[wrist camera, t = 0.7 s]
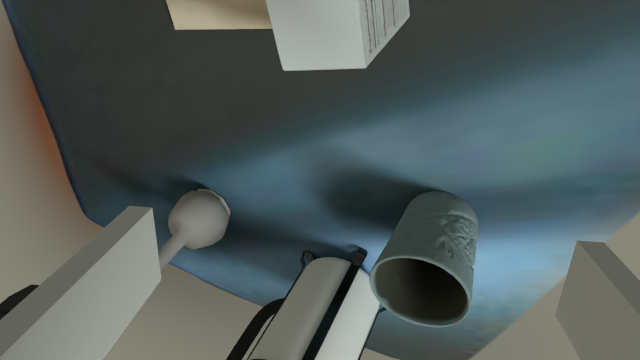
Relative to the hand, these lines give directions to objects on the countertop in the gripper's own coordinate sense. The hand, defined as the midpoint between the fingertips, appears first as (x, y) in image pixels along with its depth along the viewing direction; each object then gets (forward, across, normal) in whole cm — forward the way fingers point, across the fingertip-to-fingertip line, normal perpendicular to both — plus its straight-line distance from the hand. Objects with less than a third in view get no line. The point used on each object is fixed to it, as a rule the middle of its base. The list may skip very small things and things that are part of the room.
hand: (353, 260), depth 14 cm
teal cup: (+37, +10, -17) cm, 42 cm away
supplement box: (+33, 0, +9) cm, 34 cm away
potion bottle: (+50, -23, -24) cm, 60 cm away
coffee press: (+45, -2, -32) cm, 55 cm away
